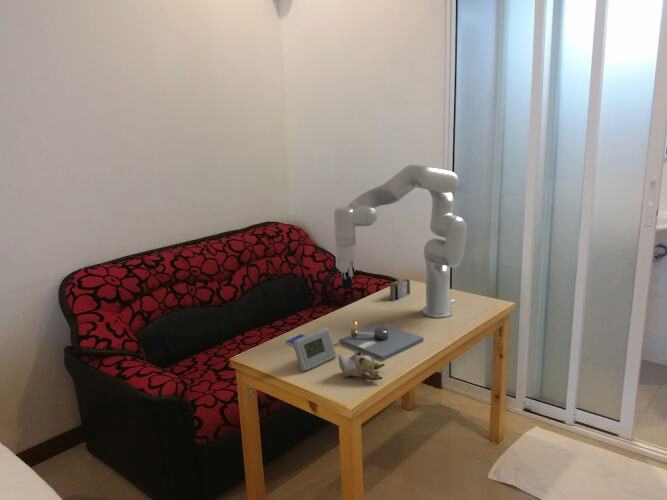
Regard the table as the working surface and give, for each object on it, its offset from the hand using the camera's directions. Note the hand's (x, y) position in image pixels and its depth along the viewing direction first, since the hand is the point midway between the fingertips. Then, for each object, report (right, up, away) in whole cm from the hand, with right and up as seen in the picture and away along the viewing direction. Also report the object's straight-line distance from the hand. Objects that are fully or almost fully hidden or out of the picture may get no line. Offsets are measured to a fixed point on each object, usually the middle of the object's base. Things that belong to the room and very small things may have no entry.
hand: (347, 288), depth 210 cm
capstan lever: (+8, -18, -2) cm, 20 cm away
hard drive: (-16, -21, -1) cm, 27 cm away
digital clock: (-11, -25, -17) cm, 32 cm away
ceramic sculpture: (+4, -27, -28) cm, 39 cm away
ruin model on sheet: (+25, -8, +45) cm, 52 cm away
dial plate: (+13, -20, -3) cm, 24 cm away
